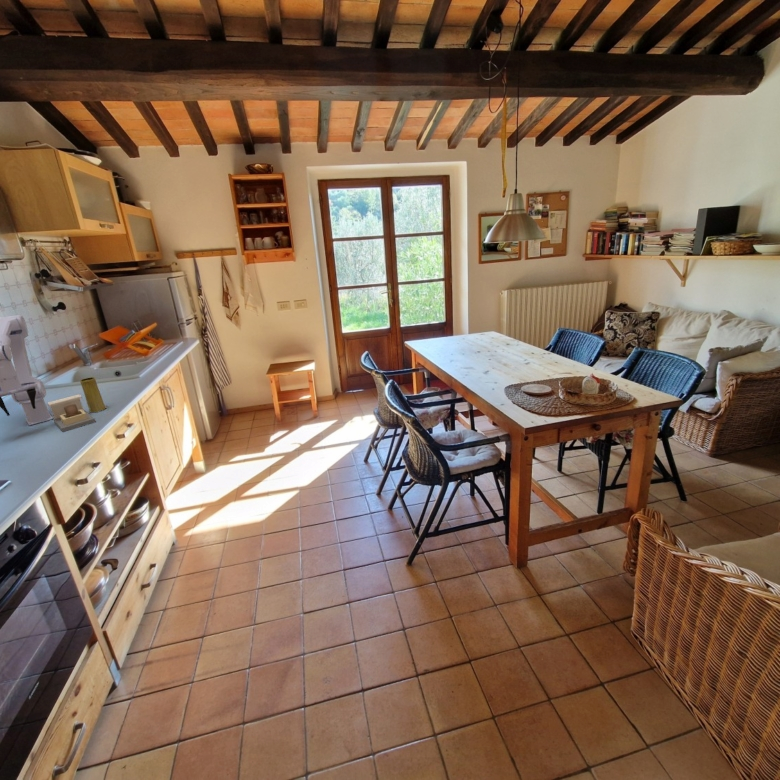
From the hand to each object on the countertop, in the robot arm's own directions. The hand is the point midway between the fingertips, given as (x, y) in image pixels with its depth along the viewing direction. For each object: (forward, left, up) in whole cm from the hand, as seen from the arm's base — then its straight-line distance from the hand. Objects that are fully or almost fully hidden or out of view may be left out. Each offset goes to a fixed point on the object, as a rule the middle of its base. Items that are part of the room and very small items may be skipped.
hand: (21, 411), depth 156 cm
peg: (+4, +14, -8) cm, 17 cm away
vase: (-6, +24, -10) cm, 27 cm away
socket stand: (+2, +14, -9) cm, 17 cm away
